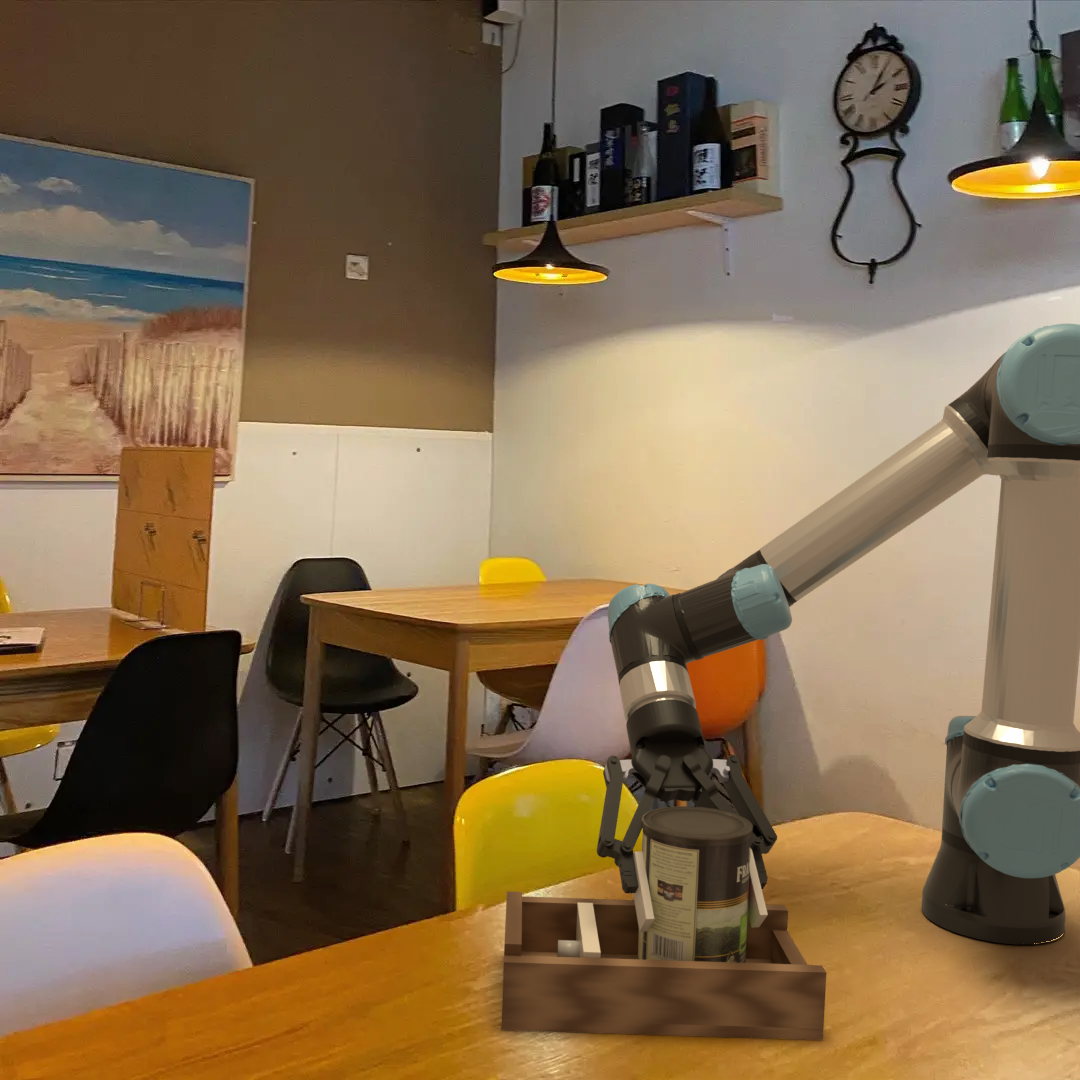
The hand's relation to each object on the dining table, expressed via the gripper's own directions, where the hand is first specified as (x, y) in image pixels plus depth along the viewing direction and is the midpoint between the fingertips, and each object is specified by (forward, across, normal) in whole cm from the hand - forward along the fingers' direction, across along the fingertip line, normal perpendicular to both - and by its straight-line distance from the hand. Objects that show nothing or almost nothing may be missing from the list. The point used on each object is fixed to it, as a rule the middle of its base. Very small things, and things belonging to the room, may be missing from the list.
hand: (703, 923), depth 104 cm
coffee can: (+2, 0, -6) cm, 6 cm away
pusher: (+1, +11, -8) cm, 13 cm away
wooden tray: (+3, +4, -8) cm, 9 cm away
